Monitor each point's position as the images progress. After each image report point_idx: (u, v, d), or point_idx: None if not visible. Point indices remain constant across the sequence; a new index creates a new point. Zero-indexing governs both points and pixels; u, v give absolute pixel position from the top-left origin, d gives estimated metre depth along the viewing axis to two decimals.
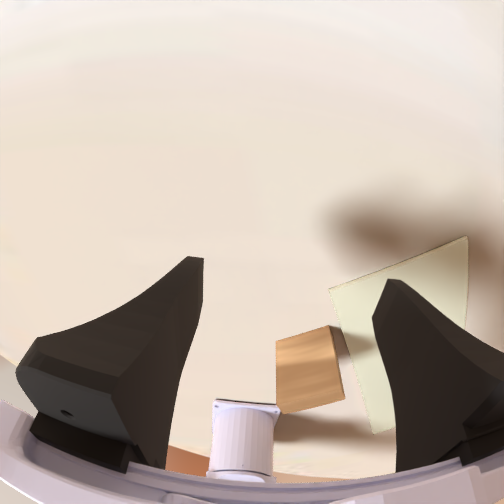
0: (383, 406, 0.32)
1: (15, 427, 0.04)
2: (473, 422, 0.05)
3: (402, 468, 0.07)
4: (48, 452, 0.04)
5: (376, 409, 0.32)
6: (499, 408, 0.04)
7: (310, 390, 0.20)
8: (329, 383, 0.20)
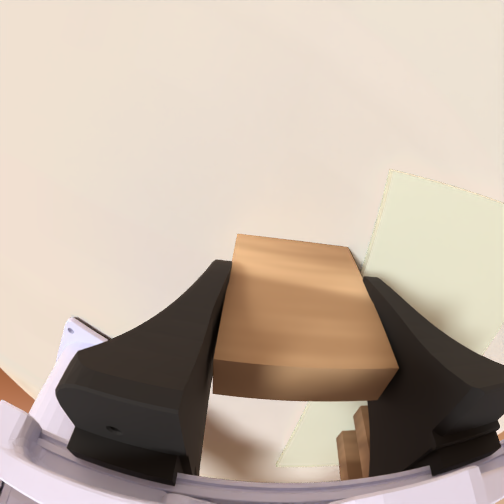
0: (319, 435, 0.21)
1: (15, 427, 0.04)
2: (444, 429, 0.05)
3: (374, 473, 0.07)
4: (48, 452, 0.04)
5: (308, 436, 0.21)
6: (473, 416, 0.04)
7: (319, 350, 0.08)
8: (367, 347, 0.08)
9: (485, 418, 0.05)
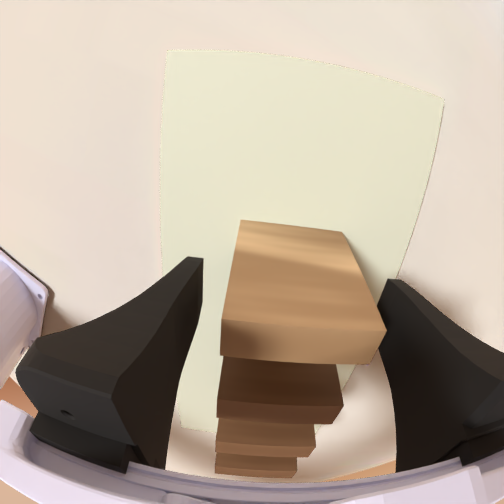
0: (202, 383, 0.21)
1: (15, 427, 0.04)
2: (473, 422, 0.05)
3: (402, 468, 0.07)
4: (48, 452, 0.04)
5: (190, 383, 0.21)
6: (499, 408, 0.04)
7: (314, 313, 0.09)
8: (358, 313, 0.09)
9: None
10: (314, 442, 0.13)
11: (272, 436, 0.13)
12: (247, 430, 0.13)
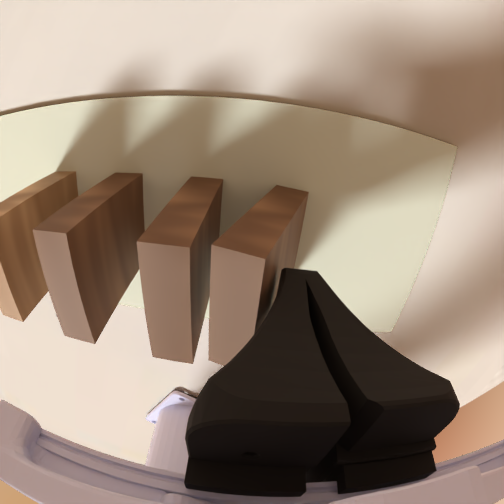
0: None
1: (15, 427, 0.04)
2: (348, 444, 0.05)
3: None
4: (48, 452, 0.04)
5: None
6: (383, 433, 0.04)
7: None
8: None
9: (408, 436, 0.04)
10: (139, 239, 0.08)
11: None
12: None
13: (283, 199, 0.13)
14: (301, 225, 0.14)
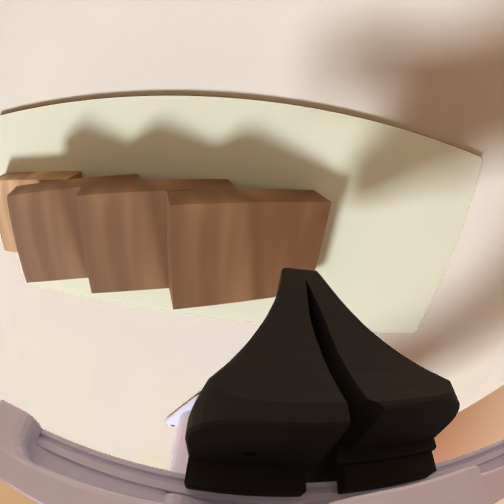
0: None
1: (15, 427, 0.04)
2: (348, 444, 0.05)
3: None
4: (48, 452, 0.04)
5: None
6: (383, 433, 0.04)
7: None
8: None
9: (408, 436, 0.05)
10: None
11: None
12: None
13: (286, 195, 0.13)
14: (315, 233, 0.14)
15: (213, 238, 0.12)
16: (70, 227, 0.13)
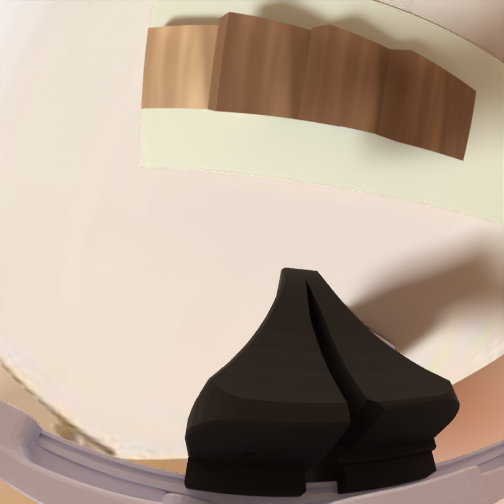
0: (451, 180, 0.17)
1: (15, 427, 0.04)
2: (348, 444, 0.05)
3: None
4: (48, 452, 0.04)
5: (450, 193, 0.18)
6: (383, 433, 0.04)
7: None
8: None
9: (408, 436, 0.05)
10: None
11: None
12: None
13: None
14: (469, 110, 0.13)
15: (429, 86, 0.12)
16: (290, 60, 0.12)
